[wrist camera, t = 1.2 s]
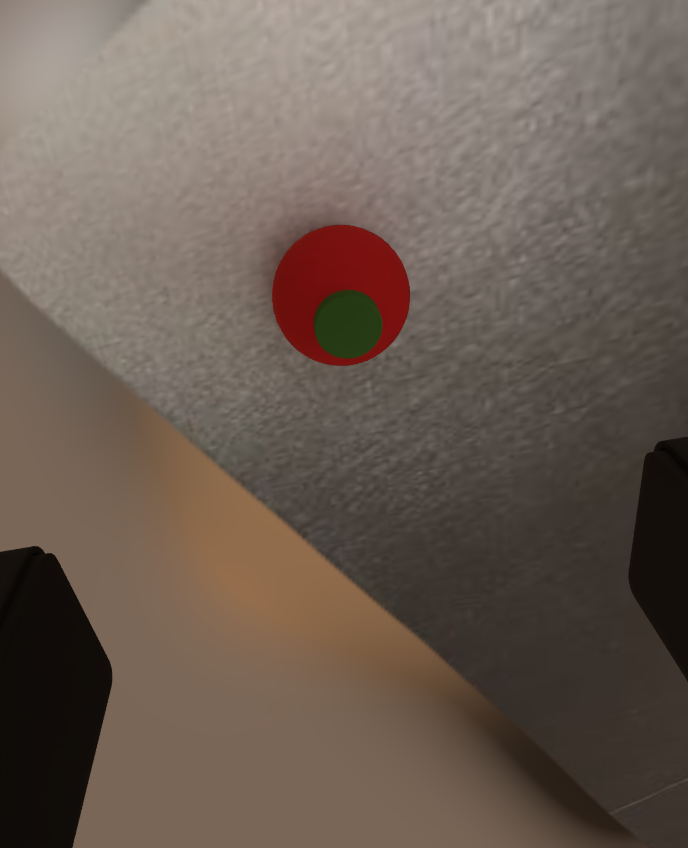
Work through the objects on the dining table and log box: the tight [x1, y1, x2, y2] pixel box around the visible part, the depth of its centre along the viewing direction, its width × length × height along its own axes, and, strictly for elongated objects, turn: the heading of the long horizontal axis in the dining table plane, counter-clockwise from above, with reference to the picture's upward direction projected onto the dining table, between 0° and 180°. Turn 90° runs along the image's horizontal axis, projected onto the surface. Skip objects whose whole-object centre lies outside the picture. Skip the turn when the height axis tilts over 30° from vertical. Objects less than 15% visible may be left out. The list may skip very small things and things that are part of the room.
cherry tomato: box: [272, 225, 410, 366], centre depth 19 cm, size 4×4×4 cm
